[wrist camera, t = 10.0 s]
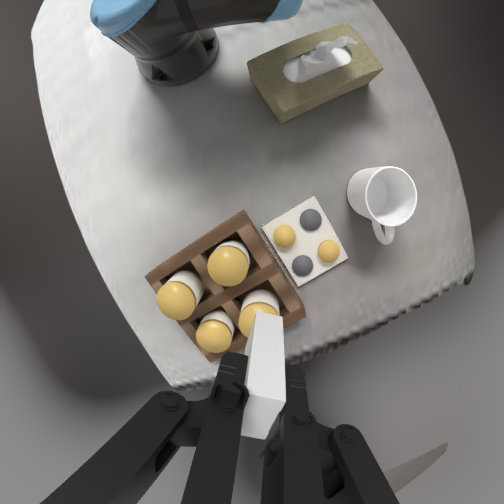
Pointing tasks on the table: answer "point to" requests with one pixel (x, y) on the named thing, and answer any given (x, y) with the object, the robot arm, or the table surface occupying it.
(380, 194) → the mug
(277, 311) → the button
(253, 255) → the board
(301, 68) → the tissue box
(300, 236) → the card
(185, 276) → the button
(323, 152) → the table surface
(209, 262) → the button
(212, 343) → the button
